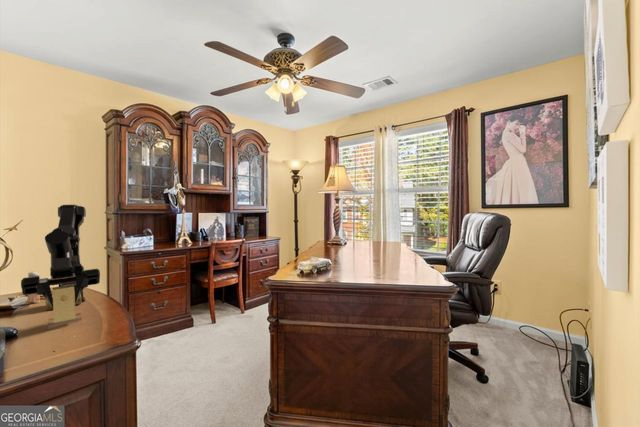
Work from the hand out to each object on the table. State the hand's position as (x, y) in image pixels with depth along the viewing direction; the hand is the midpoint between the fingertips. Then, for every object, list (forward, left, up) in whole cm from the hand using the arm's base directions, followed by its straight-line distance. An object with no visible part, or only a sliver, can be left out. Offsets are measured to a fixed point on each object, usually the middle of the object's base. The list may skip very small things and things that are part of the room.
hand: (64, 304), depth 90 cm
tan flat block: (-5, 0, -8) cm, 10 cm away
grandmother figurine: (-45, -9, -8) cm, 47 cm away
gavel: (-21, 0, -9) cm, 23 cm away
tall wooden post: (-1, 0, -5) cm, 5 cm away
